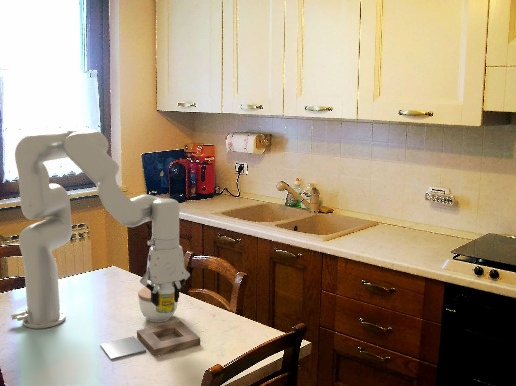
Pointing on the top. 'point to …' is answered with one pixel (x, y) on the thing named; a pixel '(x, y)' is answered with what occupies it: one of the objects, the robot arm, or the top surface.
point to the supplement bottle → (166, 299)
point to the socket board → (158, 348)
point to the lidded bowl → (151, 307)
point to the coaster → (122, 348)
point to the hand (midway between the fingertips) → (165, 301)
